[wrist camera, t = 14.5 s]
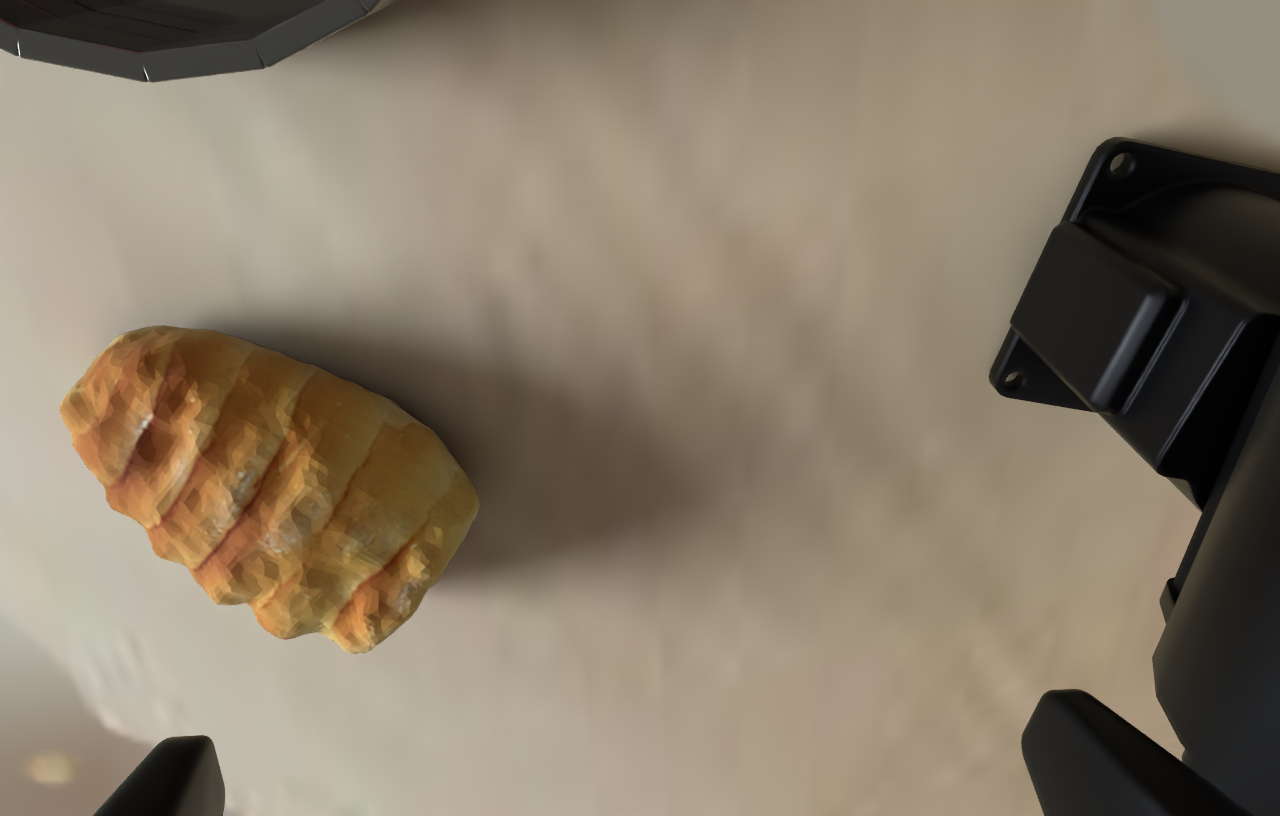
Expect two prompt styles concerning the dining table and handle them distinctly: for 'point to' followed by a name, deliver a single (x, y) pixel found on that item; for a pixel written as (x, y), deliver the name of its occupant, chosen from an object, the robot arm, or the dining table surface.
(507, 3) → the dining table surface
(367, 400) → the pastry
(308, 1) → the pan
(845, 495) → the dining table surface
